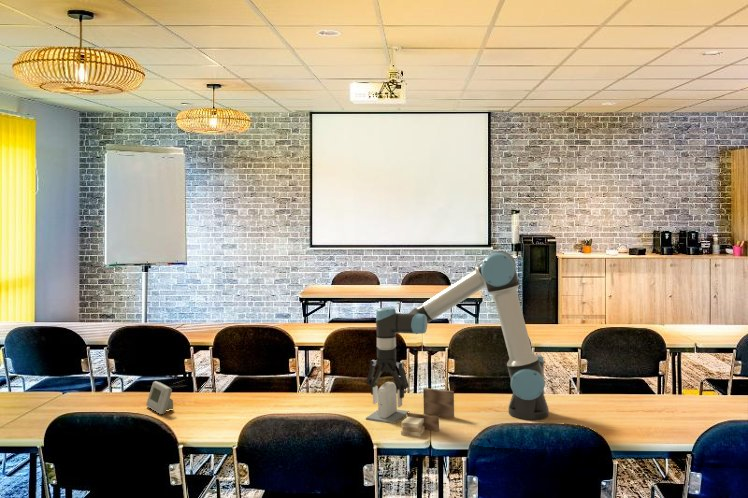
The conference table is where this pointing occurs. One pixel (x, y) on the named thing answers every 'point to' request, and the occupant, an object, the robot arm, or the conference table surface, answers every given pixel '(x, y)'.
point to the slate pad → (390, 419)
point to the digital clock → (160, 398)
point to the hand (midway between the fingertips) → (387, 404)
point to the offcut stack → (412, 426)
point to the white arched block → (387, 400)
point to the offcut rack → (436, 407)
